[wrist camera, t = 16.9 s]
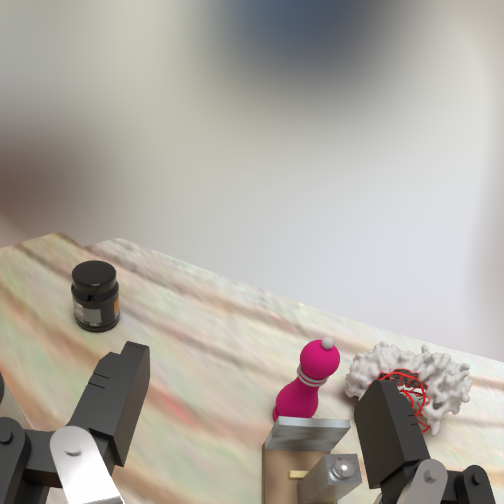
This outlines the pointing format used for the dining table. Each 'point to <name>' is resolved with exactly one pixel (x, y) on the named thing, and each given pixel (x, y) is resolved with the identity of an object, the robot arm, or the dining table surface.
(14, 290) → the dining table surface
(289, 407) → the pepper mill
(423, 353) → the lumpy white molecule
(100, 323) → the supplement container
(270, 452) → the wooden base metal fixture
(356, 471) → the metal square bar
